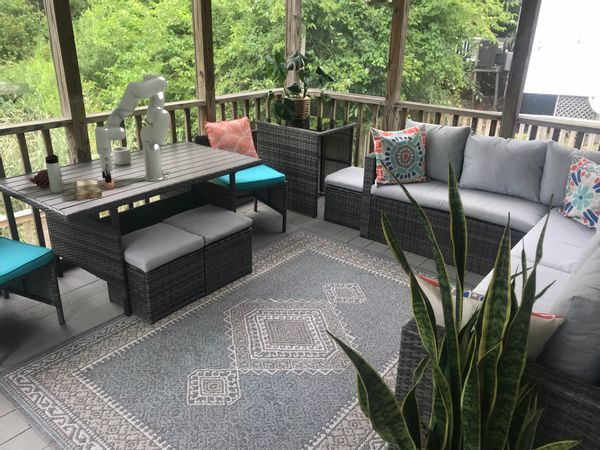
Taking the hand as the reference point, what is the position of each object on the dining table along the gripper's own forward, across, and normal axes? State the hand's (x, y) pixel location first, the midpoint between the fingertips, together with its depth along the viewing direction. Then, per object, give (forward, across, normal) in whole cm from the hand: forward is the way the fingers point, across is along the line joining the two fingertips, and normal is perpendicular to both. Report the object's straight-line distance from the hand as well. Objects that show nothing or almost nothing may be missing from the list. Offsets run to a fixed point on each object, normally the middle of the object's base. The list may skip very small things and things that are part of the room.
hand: (107, 180), depth 269 cm
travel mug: (+6, +5, +25) cm, 26 cm away
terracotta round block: (+5, 0, -1) cm, 5 cm away
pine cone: (+6, +17, +29) cm, 34 cm away
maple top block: (+2, -8, +11) cm, 14 cm away
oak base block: (+6, -9, +11) cm, 15 cm away
